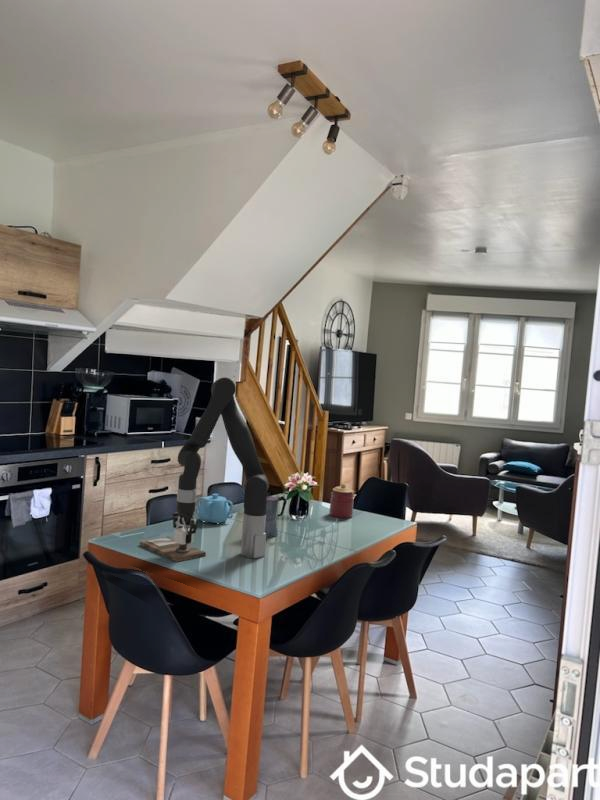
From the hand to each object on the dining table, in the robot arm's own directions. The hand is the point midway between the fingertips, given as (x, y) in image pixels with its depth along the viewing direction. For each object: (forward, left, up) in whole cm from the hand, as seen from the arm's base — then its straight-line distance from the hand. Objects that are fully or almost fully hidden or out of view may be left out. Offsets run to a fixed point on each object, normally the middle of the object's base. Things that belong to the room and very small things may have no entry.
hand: (183, 541), depth 243 cm
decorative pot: (+35, -44, -6) cm, 57 cm away
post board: (+7, 0, -6) cm, 9 cm away
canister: (+10, -113, -6) cm, 114 cm away
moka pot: (+3, -51, -6) cm, 51 cm away
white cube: (0, 0, 0) cm, 0 cm away
